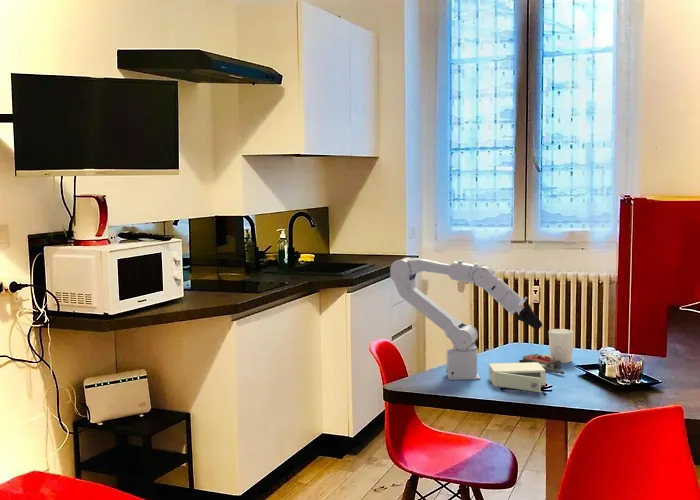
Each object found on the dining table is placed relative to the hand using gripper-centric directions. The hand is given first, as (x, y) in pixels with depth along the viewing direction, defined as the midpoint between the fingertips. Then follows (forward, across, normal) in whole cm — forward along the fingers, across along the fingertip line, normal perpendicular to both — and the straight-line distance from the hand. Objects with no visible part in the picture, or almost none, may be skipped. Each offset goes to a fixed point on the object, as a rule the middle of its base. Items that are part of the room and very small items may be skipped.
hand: (540, 327), depth 226 cm
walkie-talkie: (+11, +19, +10) cm, 24 cm away
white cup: (+13, +30, +5) cm, 33 cm away
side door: (+7, -8, +17) cm, 20 cm away
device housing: (+6, +2, +17) cm, 18 cm away
